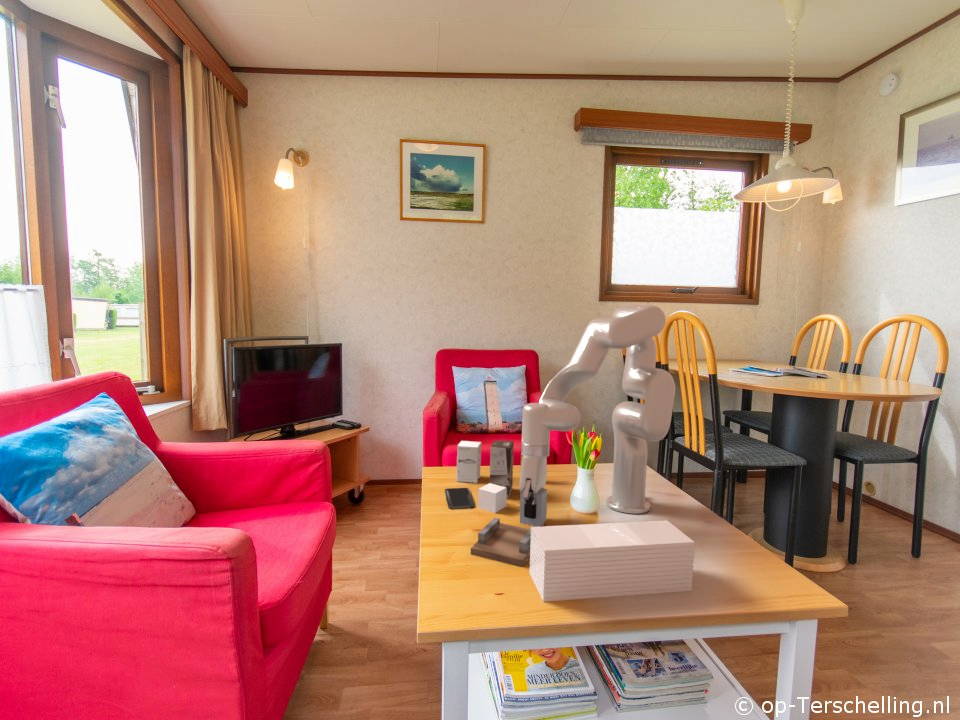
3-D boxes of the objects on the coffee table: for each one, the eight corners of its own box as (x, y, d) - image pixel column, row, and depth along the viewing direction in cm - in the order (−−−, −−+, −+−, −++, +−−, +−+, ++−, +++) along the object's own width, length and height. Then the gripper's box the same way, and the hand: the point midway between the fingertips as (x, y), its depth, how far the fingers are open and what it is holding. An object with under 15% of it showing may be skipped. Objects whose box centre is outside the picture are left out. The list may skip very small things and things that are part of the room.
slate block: (525, 516, 135) (526, 485, 134) (546, 520, 133) (547, 489, 132) (519, 523, 131) (520, 491, 130) (540, 527, 128) (541, 495, 127)
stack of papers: (664, 565, 110) (667, 520, 109) (691, 591, 99) (694, 541, 99) (529, 574, 105) (530, 526, 104) (543, 602, 95) (544, 550, 94)
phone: (448, 506, 139) (444, 488, 154) (448, 510, 139) (444, 491, 154) (475, 505, 140) (468, 487, 155) (475, 509, 140) (468, 490, 155)
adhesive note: (506, 507, 142) (506, 487, 141) (495, 513, 137) (495, 493, 136) (489, 502, 145) (489, 483, 145) (477, 508, 140) (478, 488, 140)
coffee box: (509, 499, 148) (510, 448, 146) (488, 497, 149) (489, 446, 147) (513, 489, 156) (514, 440, 155) (493, 487, 158) (494, 439, 156)
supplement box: (455, 482, 162) (456, 445, 161) (460, 475, 169) (460, 440, 168) (477, 483, 161) (478, 446, 160) (480, 476, 168) (481, 441, 167)
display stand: (496, 527, 127) (497, 513, 127) (543, 537, 122) (544, 522, 122) (470, 553, 113) (470, 537, 113) (522, 566, 108) (523, 549, 107)
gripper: (532, 440, 139) (530, 501, 141) (511, 455, 124) (509, 523, 125) (557, 443, 136) (555, 505, 137) (539, 459, 120) (536, 528, 122)
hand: (533, 513), depth 131 cm, fingers closed on slate block, 4 cm apart
